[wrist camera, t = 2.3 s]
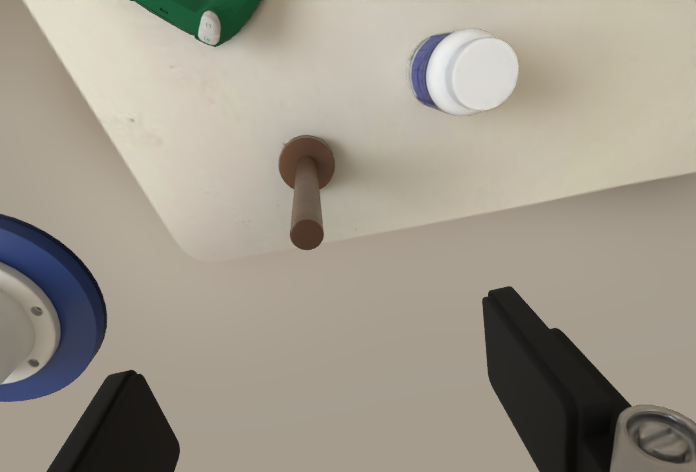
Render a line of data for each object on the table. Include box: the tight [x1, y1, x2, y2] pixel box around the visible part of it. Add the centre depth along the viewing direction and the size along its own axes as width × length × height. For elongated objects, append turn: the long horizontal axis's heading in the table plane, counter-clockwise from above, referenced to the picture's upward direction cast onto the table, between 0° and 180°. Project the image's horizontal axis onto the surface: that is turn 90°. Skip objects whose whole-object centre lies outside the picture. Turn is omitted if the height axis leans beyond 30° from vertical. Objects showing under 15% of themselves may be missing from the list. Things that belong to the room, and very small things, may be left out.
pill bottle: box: [407, 29, 519, 116], centre depth 28 cm, size 5×5×9 cm
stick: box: [279, 135, 335, 250], centre depth 26 cm, size 4×4×15 cm
